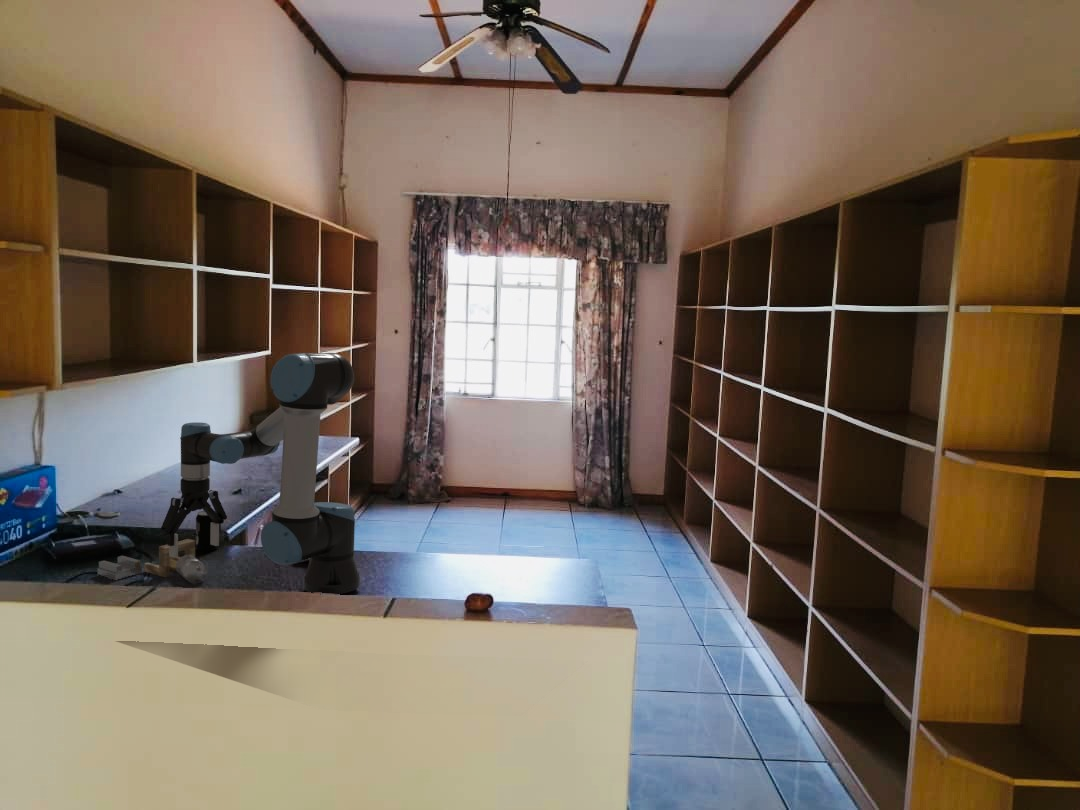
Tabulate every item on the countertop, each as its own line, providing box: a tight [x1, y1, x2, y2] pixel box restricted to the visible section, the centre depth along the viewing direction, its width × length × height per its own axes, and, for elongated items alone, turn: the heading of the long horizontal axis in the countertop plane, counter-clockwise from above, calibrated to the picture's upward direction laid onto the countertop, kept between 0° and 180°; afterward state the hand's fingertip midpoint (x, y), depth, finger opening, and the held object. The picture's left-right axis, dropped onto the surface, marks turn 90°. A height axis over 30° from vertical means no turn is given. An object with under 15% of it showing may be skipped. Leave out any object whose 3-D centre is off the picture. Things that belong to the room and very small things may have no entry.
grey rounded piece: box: [176, 554, 209, 585], centre depth 218 cm, size 9×6×6 cm, turn 41°
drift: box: [170, 559, 177, 572], centre depth 225 cm, size 10×3×3 cm
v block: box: [97, 555, 143, 581], centre depth 219 cm, size 8×8×4 cm
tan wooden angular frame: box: [143, 538, 196, 579], centre depth 224 cm, size 10×10×9 cm
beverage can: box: [195, 510, 219, 552], centre depth 246 cm, size 7×7×12 cm
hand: (194, 550), depth 218 cm, fingers open, 13 cm apart
